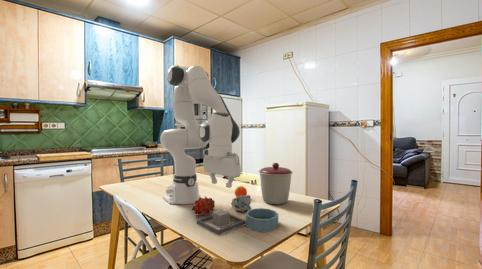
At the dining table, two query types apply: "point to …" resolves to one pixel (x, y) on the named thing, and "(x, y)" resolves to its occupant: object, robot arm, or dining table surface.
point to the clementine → (240, 191)
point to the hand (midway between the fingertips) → (221, 185)
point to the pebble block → (221, 218)
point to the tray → (219, 231)
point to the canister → (275, 184)
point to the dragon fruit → (203, 206)
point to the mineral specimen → (241, 203)
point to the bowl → (262, 219)
